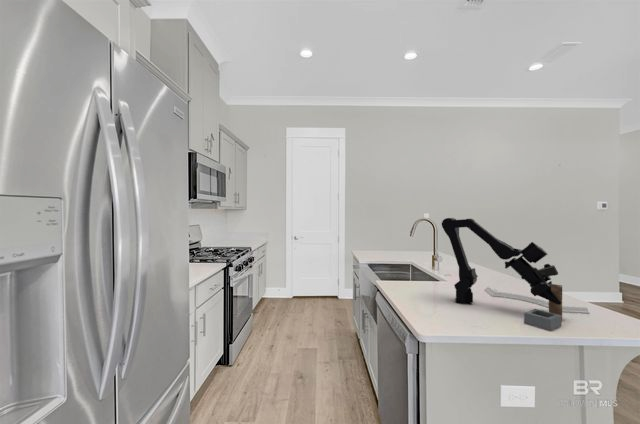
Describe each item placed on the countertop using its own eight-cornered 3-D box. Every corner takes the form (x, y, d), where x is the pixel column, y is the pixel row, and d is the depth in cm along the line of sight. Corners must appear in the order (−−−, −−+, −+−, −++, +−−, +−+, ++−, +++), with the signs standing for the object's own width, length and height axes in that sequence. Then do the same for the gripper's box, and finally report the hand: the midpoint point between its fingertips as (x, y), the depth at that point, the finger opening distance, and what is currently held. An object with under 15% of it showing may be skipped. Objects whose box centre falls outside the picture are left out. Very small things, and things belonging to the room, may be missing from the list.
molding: (592, 314, 122) (592, 307, 122) (581, 319, 115) (582, 312, 115) (488, 290, 158) (488, 285, 158) (475, 293, 151) (475, 288, 151)
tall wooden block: (548, 319, 114) (548, 285, 114) (549, 316, 117) (549, 283, 117) (562, 321, 112) (562, 287, 111) (562, 318, 115) (562, 285, 115)
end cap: (524, 323, 110) (524, 312, 110) (535, 319, 114) (535, 308, 114) (550, 331, 103) (550, 319, 103) (561, 326, 107) (561, 315, 107)
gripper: (541, 260, 110) (581, 296, 103) (544, 255, 124) (578, 285, 117) (516, 278, 115) (552, 313, 108) (521, 271, 129) (553, 301, 122)
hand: (560, 302), depth 113 cm, fingers closed on tall wooden block, 4 cm apart
